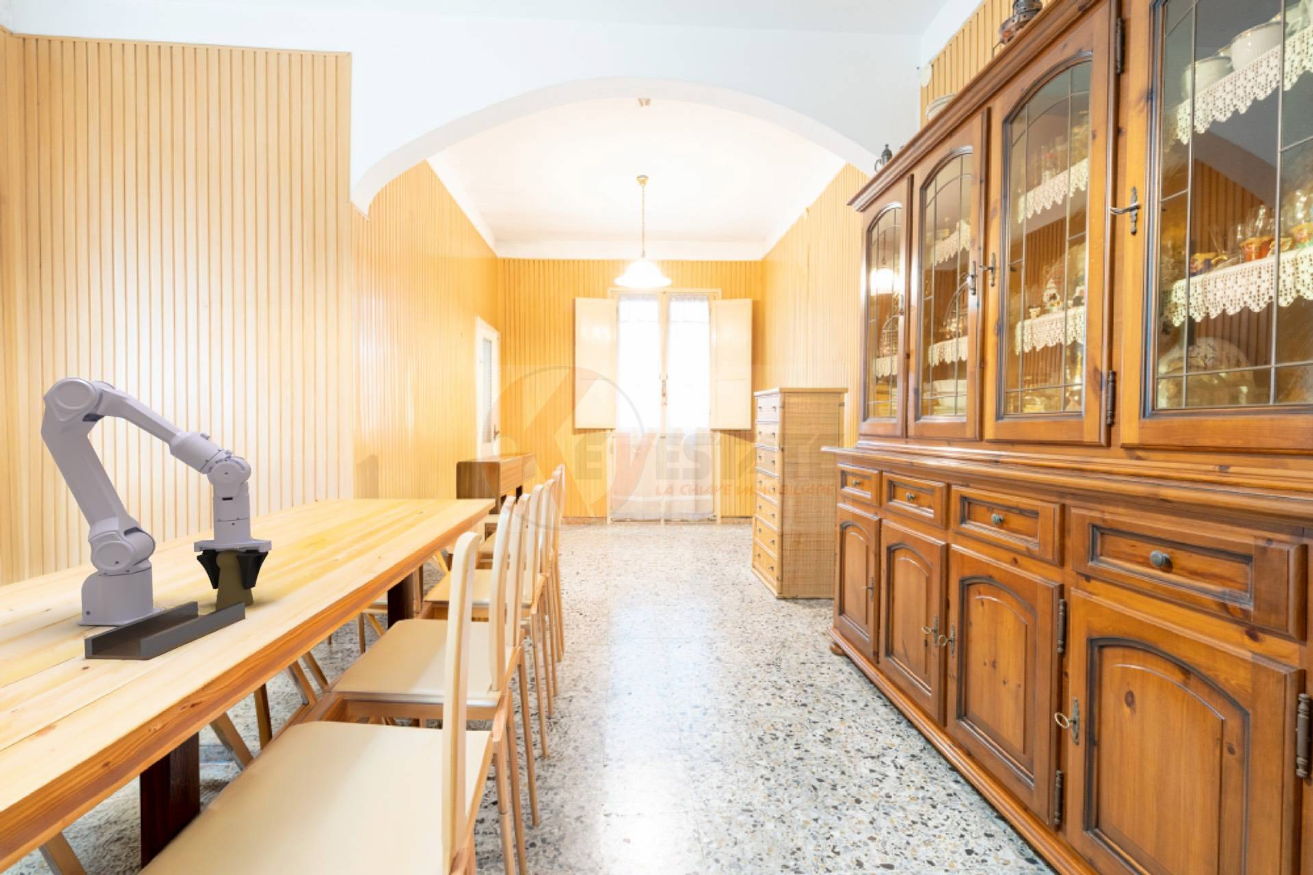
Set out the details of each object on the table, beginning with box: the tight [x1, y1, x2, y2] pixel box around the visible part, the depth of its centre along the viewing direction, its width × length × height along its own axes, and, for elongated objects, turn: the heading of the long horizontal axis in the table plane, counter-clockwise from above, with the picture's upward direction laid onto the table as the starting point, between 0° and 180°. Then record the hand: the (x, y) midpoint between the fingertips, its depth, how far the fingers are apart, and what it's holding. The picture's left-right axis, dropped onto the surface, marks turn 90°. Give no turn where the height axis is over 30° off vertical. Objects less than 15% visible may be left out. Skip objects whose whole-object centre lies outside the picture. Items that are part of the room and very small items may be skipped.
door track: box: [83, 600, 246, 661], centre depth 93 cm, size 10×18×3 cm, turn 176°
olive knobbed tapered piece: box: [215, 550, 255, 611], centre depth 110 cm, size 6×6×11 cm
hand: (234, 587), depth 110 cm, fingers open, 6 cm apart
